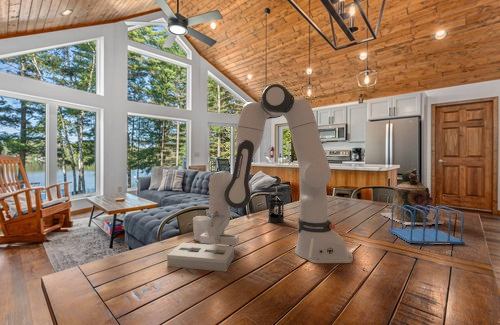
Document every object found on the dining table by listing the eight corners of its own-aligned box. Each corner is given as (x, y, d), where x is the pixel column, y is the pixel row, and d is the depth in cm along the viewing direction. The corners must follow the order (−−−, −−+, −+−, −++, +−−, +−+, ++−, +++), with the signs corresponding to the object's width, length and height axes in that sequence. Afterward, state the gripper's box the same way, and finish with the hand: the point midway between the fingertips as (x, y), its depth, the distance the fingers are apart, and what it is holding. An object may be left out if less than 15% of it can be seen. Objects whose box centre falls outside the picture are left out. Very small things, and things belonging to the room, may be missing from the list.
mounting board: (234, 256, 96) (234, 246, 96) (226, 271, 85) (226, 259, 84) (182, 252, 100) (182, 242, 100) (167, 266, 88) (167, 254, 88)
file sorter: (409, 245, 111) (411, 211, 110) (388, 232, 128) (389, 203, 127) (465, 245, 110) (466, 212, 110) (436, 232, 128) (437, 203, 127)
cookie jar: (378, 215, 161) (380, 167, 160) (413, 214, 164) (415, 167, 162) (406, 226, 137) (409, 170, 135) (446, 225, 139) (449, 170, 138)
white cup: (206, 242, 111) (206, 220, 111) (190, 240, 113) (190, 219, 112) (212, 236, 119) (212, 216, 119) (197, 235, 121) (197, 215, 120)
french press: (287, 223, 142) (288, 183, 141) (272, 224, 139) (273, 184, 138) (278, 217, 153) (278, 181, 152) (264, 219, 150) (265, 181, 149)
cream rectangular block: (238, 248, 105) (238, 234, 104) (236, 252, 101) (236, 238, 100) (203, 245, 107) (203, 232, 107) (200, 249, 103) (199, 235, 103)
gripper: (219, 215, 92) (219, 251, 93) (232, 204, 113) (232, 233, 113) (203, 215, 94) (203, 250, 94) (219, 203, 114) (219, 232, 114)
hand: (219, 240), depth 104 cm, fingers closed on cream rectangular block, 4 cm apart
